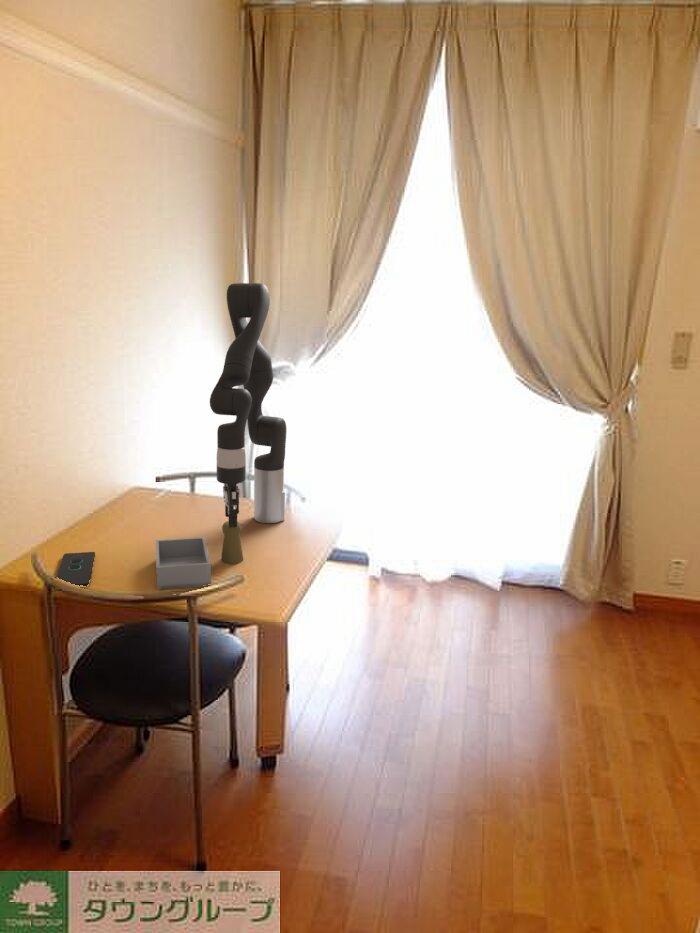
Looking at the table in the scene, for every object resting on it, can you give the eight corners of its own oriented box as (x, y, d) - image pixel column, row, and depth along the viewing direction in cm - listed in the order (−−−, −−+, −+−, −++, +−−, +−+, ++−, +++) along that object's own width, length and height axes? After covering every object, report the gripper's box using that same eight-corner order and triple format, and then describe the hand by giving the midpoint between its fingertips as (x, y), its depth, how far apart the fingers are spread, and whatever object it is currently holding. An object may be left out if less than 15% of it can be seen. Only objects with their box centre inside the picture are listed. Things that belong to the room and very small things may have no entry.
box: (205, 557, 190) (204, 536, 188) (210, 585, 173) (210, 563, 172) (156, 560, 186) (155, 540, 185) (157, 590, 170) (156, 567, 168)
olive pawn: (222, 555, 192) (221, 518, 189) (244, 555, 192) (243, 518, 189) (219, 564, 186) (219, 526, 183) (242, 564, 186) (242, 526, 183)
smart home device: (95, 551, 188) (88, 582, 170) (96, 556, 189) (89, 589, 170) (63, 553, 186) (52, 585, 167) (63, 558, 186) (53, 591, 168)
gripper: (249, 470, 176) (248, 530, 180) (242, 456, 189) (241, 512, 193) (219, 471, 174) (219, 531, 178) (214, 457, 187) (214, 513, 191)
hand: (231, 521), depth 186 cm, fingers open, 8 cm apart
